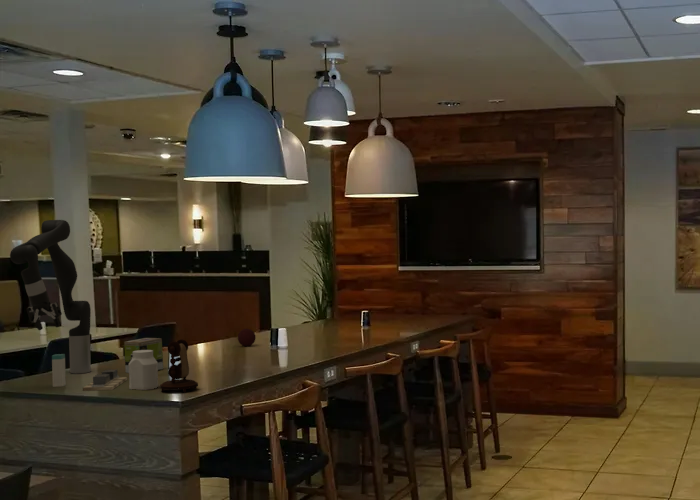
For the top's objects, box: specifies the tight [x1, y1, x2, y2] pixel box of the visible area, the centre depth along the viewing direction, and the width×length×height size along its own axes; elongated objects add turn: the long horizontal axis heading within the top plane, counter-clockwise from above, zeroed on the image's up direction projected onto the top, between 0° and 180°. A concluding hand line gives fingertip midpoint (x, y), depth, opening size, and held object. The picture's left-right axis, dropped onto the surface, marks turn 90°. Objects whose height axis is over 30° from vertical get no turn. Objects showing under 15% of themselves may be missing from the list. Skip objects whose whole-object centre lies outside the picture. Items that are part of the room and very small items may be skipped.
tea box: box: [123, 337, 164, 374], centre depth 403 cm, size 15×10×15 cm
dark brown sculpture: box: [159, 338, 199, 393], centre depth 346 cm, size 15×15×20 cm
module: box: [51, 353, 67, 388], centre depth 366 cm, size 4×4×13 cm
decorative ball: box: [237, 328, 257, 347], centre depth 491 cm, size 10×10×10 cm
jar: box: [128, 350, 159, 391], centre depth 355 cm, size 12×10×15 cm
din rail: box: [92, 368, 120, 387], centre depth 365 cm, size 25×5×4 cm, turn 1°
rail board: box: [82, 376, 128, 392], centre depth 365 cm, size 26×12×1 cm, turn 1°
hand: (49, 328), depth 363 cm, fingers open, 8 cm apart
